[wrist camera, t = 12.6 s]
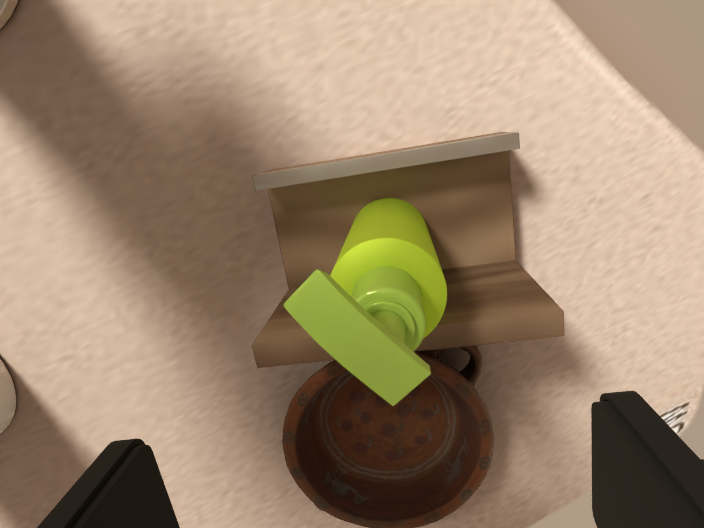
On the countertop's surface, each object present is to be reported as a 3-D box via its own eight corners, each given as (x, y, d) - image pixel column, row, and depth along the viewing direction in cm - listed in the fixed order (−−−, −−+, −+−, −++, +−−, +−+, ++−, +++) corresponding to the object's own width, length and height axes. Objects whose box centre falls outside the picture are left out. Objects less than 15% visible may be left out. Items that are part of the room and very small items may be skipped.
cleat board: (270, 170, 36) (212, 189, 24) (500, 132, 33) (557, 133, 22) (297, 297, 39) (257, 367, 27) (510, 270, 36) (564, 335, 25)
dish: (249, 441, 44) (231, 479, 39) (378, 269, 37) (375, 289, 33) (392, 530, 45) (392, 576, 41) (539, 379, 39) (559, 414, 34)
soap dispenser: (377, 171, 33) (356, 229, 14) (443, 234, 34) (508, 369, 15) (325, 227, 34) (242, 348, 15) (389, 286, 35) (385, 468, 16)
